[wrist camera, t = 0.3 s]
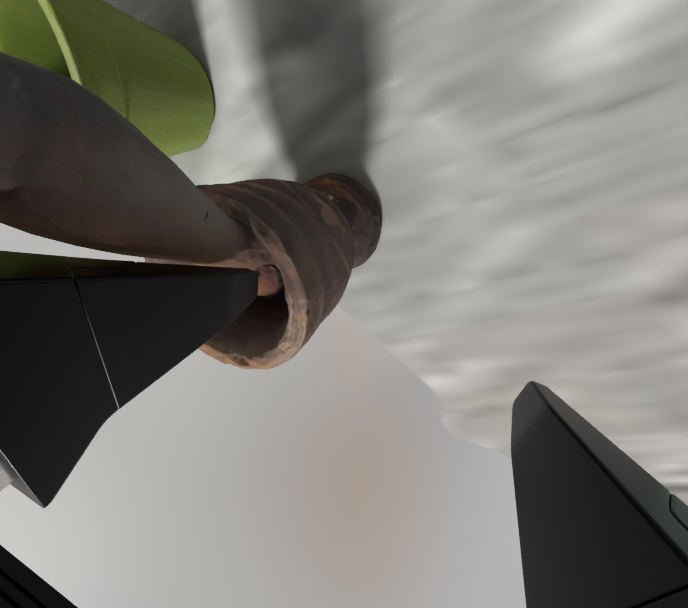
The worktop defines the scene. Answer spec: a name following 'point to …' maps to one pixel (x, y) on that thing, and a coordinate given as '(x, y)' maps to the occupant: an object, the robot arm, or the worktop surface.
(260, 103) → the worktop surface
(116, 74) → the plant pot
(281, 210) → the mortar and pestle
